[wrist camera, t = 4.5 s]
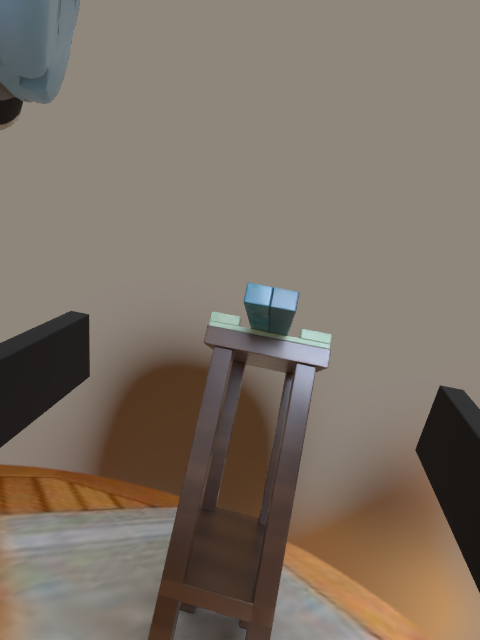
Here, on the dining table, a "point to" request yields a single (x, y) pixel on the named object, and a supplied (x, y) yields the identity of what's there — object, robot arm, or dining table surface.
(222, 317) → the tray
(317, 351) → the stand
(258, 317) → the blue grooved block
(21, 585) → the dining table surface
